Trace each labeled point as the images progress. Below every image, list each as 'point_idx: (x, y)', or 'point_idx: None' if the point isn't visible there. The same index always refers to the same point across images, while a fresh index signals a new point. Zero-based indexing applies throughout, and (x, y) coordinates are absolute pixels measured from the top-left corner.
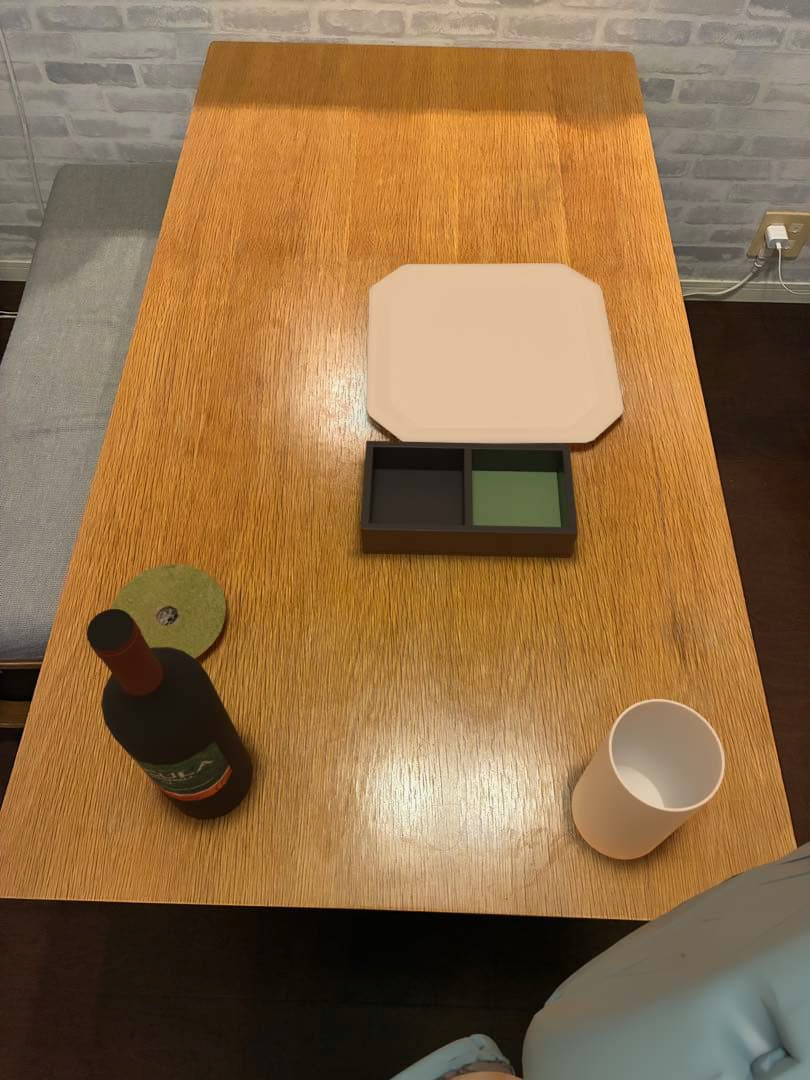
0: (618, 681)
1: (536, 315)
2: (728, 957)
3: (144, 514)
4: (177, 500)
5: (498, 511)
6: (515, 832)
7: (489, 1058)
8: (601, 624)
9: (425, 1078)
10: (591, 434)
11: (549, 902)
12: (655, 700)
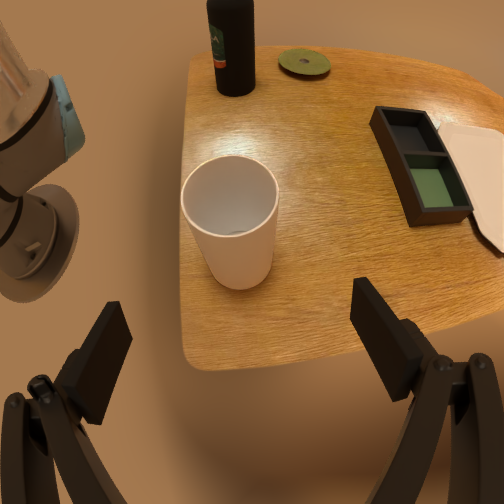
0: (331, 258)
1: None
2: None
3: (350, 58)
4: (362, 66)
5: (421, 182)
6: None
7: (60, 110)
8: (369, 247)
9: (55, 81)
10: (485, 232)
11: (182, 221)
12: (276, 184)
